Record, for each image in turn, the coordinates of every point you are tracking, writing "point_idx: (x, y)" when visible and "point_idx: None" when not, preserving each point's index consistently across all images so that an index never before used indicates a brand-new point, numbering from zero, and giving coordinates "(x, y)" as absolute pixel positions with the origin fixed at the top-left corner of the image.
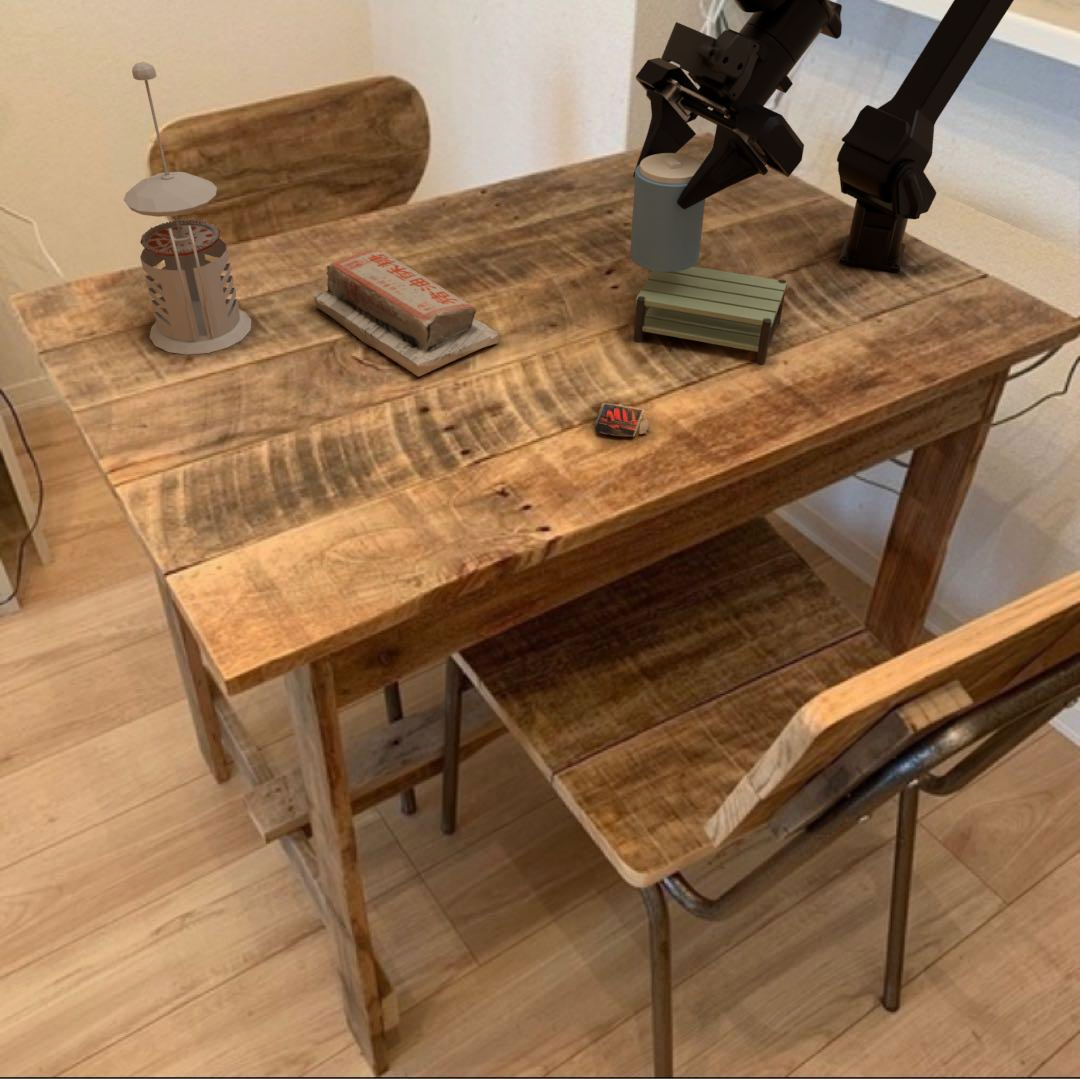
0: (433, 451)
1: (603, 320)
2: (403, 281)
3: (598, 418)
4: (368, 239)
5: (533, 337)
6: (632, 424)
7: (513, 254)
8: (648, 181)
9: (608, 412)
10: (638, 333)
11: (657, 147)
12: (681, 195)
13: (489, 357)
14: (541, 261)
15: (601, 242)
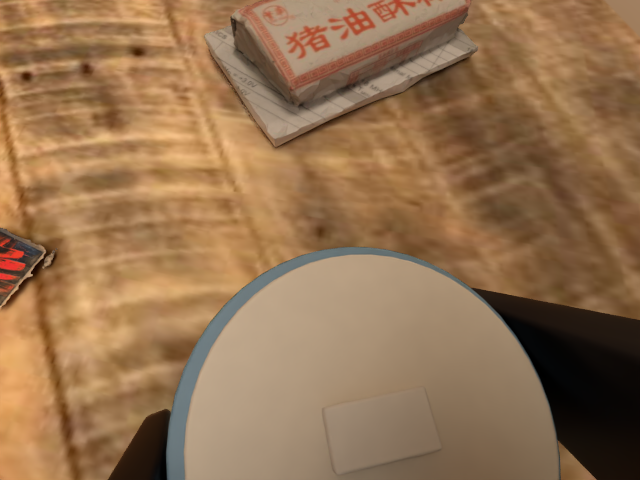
0: (44, 48)
1: None
2: (364, 5)
3: (9, 234)
4: (585, 49)
5: (288, 197)
6: None
7: (562, 216)
8: (261, 275)
9: (18, 252)
10: None
11: (600, 392)
12: (155, 430)
13: (244, 134)
14: (541, 254)
15: None
